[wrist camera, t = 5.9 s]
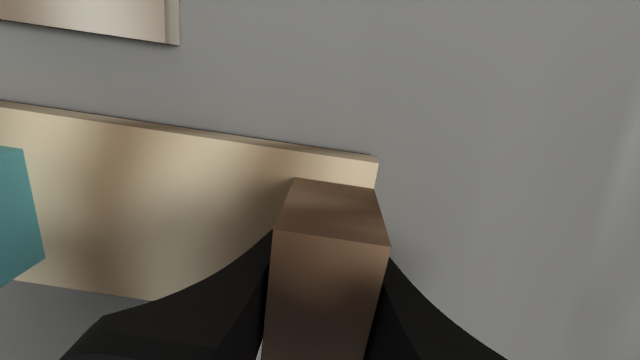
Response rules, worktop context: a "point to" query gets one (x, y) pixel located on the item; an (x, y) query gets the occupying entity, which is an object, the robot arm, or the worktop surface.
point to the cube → (17, 217)
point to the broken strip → (101, 17)
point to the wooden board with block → (206, 220)
